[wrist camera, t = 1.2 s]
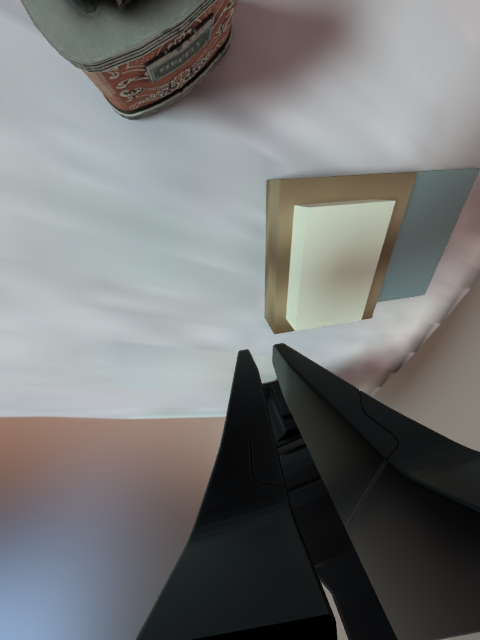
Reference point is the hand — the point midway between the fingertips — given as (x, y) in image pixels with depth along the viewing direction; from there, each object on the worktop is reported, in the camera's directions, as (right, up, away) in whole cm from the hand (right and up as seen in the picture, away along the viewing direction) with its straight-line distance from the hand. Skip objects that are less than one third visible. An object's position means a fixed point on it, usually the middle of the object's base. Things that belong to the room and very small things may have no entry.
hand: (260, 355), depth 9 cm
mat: (+16, +9, +13) cm, 22 cm away
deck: (+6, +7, +11) cm, 15 cm away
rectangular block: (+6, +6, +9) cm, 12 cm away
